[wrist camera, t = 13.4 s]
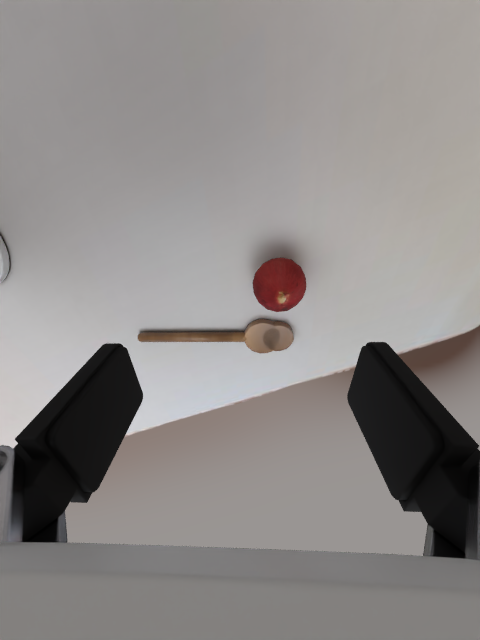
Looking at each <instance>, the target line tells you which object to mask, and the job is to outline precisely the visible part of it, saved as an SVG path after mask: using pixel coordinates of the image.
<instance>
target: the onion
mask: <svg viewBox="0 0 480 640" xmlns="http://www.w3.org/2000/svg"><path fill="white" fill-rule="evenodd" d="M253 289H254V294H255V296H256V298H257V300H258V302H259V303H260V304H261V305H263V306H264V307H265V308H266V309H268V310H272V311H276V312H281V311H288V310H290V309H291V308H293V307H294V306H296V305H297V304H298V303H299V302H300V301H301V299H302V298H303V296H304V293H305V290H306V278H305V275H304V273H303V271H302V268H301V267H300V266H299V265H298V264H296V263H295V262H294V261H292V260H291V259H286V258H275V259H271V260H269V261H267V262H265V263H263V264H262V266H261V267H260V268H259V269H258V270H257V272H256V273H255V276H254V280H253Z"/></svg>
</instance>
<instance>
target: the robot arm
mask: <svg viewBox="0 0 480 640" xmlns="http://www.w3.org/2000/svg"><path fill="white" fill-rule="evenodd" d="M9 264H10V263H9V256H8V252H7V249H6V246H5V244H4V242H3V240H2V238H1V236H0V283H1V282H2V281H3V280H4V279H5V278H6V277H7V274H8V272H9ZM142 399H143V393H142V390H141V387H140V384H139V381H138V379H137V376H136V373H135V370H134V367H133V365H132V362H131V359H130V356H129V353H128V350H127V348H125V347H123V345H121V344H104V345H103V346H102V347H101V348H100V349H99V350H98V351H97V352H96V353H95V354H94V355H93V356H92V357H91V358H90V359H89V360H88V361H87V363H86V364H85V365H84V366H83V367H82V368H81V369H80V370H79V371H78V372H77V373H76V374H75V375H74V376H73V377H72V379H71V380H70V381H69V382H68V383H67V384H66V385H65V386H64V387H63V388H62V389H61V390H60V391H59V392H58V393H57V395H56V396H55V397H54V398H53V399H52V400H51V401H50V402H49V403H48V404H47V405H46V406H45V407H44V408H43V410H42V411H41V412H40V413H39V414H38V415H37V416H36V417H35V418H34V419H33V420H32V421H31V422H30V423H29V424H28V426H27V427H26V428H25V429H24V430H23V431H22V432H21V433H20V434H19V435H18V436H17V437H16V438H15V440H16V441H17V442H18V444H17V445H16V446H15V448H14V449H12V448H11V447H10V446H4V445H2V446H0V640H480V451H479V450H478V449H477V448H478V447H479V445H478V444H477V443H476V442H475V441H474V440H473V438H472V437H471V436H470V435H469V434H468V433H467V432H466V431H465V430H464V429H463V427H462V426H461V425H460V424H459V423H458V422H457V421H456V420H455V419H454V418H453V416H452V415H451V414H450V413H449V412H448V411H447V410H446V408H444V406H443V405H442V404H441V403H440V402H439V401H438V400H437V398H436V397H435V396H434V395H433V394H432V393H431V392H430V391H429V389H427V387H426V386H425V385H424V384H423V383H422V382H421V381H420V380H419V378H418V377H417V376H416V375H415V374H414V373H413V372H412V371H411V369H410V368H409V367H408V366H407V365H406V364H405V363H404V362H403V361H402V359H401V358H400V357H399V356H398V355H397V354H396V353H395V352H394V351H393V349H392V348H391V347H390V346H389V345H388V344H387V343H385V342H369V343H367V344H366V346H363V347H362V349H361V352H360V355H359V358H358V362H357V365H356V368H355V371H354V375H353V378H352V382H351V385H350V388H349V391H348V403H349V405H350V407H351V409H352V411H353V414H354V416H355V418H356V420H357V422H358V424H359V426H360V429H361V431H362V433H363V435H364V437H365V439H366V441H367V443H368V445H369V448H370V450H371V452H372V454H373V456H374V458H375V461H376V463H377V465H378V467H379V469H380V471H381V473H382V476H383V478H384V480H385V482H386V484H387V486H388V489H389V491H390V493H391V495H392V496H393V497H394V498H395V499H396V500H399V502H400V504H401V506H402V508H403V510H404V511H413V512H422V514H423V516H424V518H425V519H426V521H427V523H428V526H427V534H426V540H425V546H424V553H423V556H413V555H397V554H376V553H351V552H327V551H302V550H276V549H249V548H221V547H191V546H190V547H189V546H162V545H128V544H97V543H96V544H95V543H67V531H66V519H65V509H66V507H67V506H68V504H69V502H82V503H87V502H88V500H89V498H90V496H91V494H92V492H95V491H96V490H97V489H98V488H99V486H100V484H101V482H102V480H103V478H104V476H105V474H106V472H107V470H108V468H109V466H110V464H111V462H112V460H113V458H114V456H115V454H116V452H117V450H118V448H119V446H120V444H121V442H122V440H123V438H124V436H125V434H126V432H127V430H128V428H129V426H130V424H131V422H132V420H133V418H134V416H135V414H136V412H137V410H138V408H139V406H140V404H141V402H142Z"/></svg>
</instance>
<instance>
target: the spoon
mask: <svg viewBox="0 0 480 640" xmlns="http://www.w3.org/2000/svg"><path fill="white" fill-rule="evenodd" d="M293 338H294V337H293V332H292V329H291V327H290V326H289V325H288V324H286V323H284V322H281V321H275V322H273V321H271V320H268V319H258V320H255V321H253V322H251V323H250V324H249V325H248V326H247V328H246V330H245V332H142V333H140V334H139V335H138V340H139V341H141V342H245V343H246V345H247V346H248V348H250V349H251V350H252V351H254V352H257V353H268V352H271V351H281V350H284V349H286V348H288V347H289V346H290V345H291V344H292V342H293Z"/></svg>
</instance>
